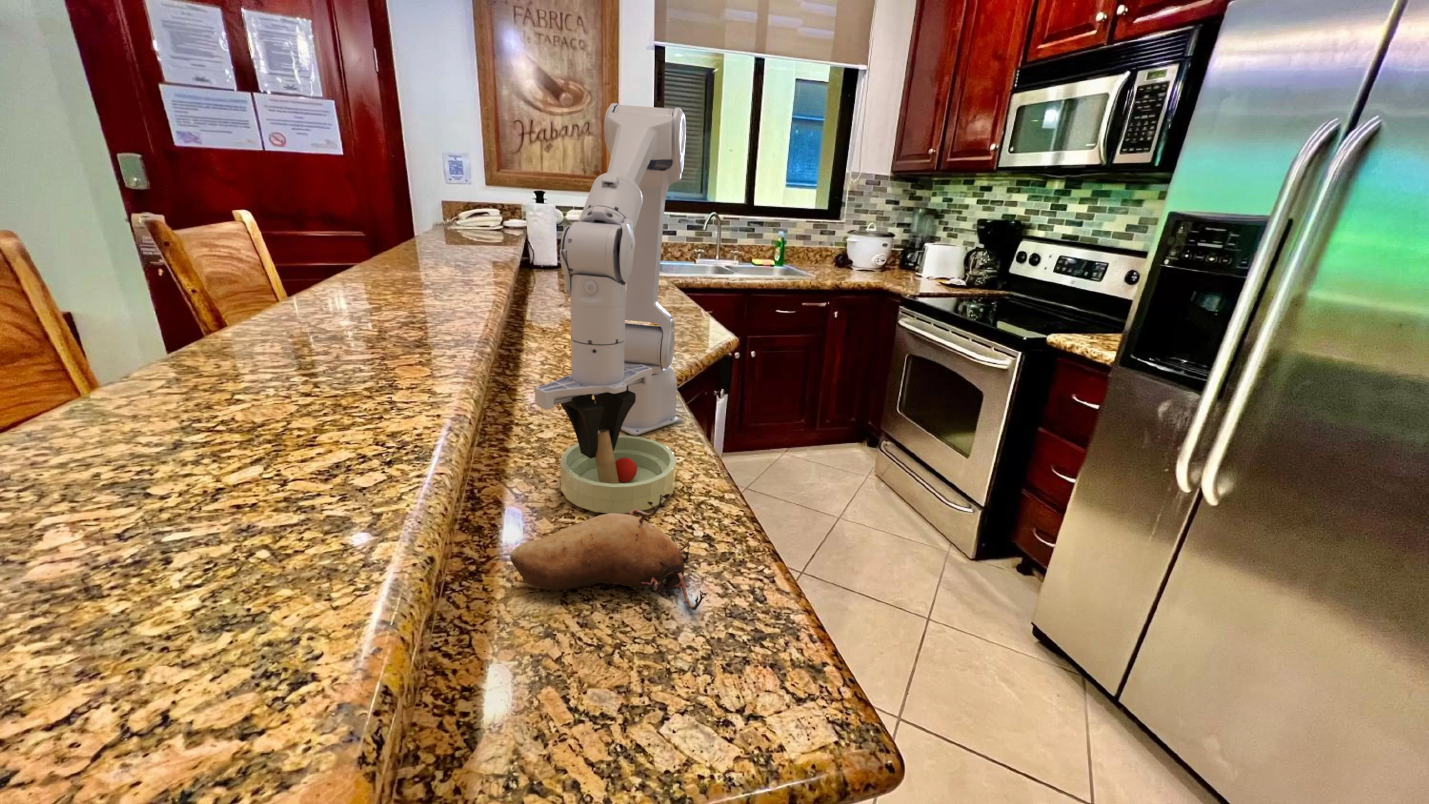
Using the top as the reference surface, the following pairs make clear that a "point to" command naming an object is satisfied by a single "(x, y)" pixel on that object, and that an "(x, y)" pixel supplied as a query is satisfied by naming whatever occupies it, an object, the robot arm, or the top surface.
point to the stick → (606, 459)
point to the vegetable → (605, 555)
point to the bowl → (624, 497)
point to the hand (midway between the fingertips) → (597, 451)
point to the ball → (625, 469)
